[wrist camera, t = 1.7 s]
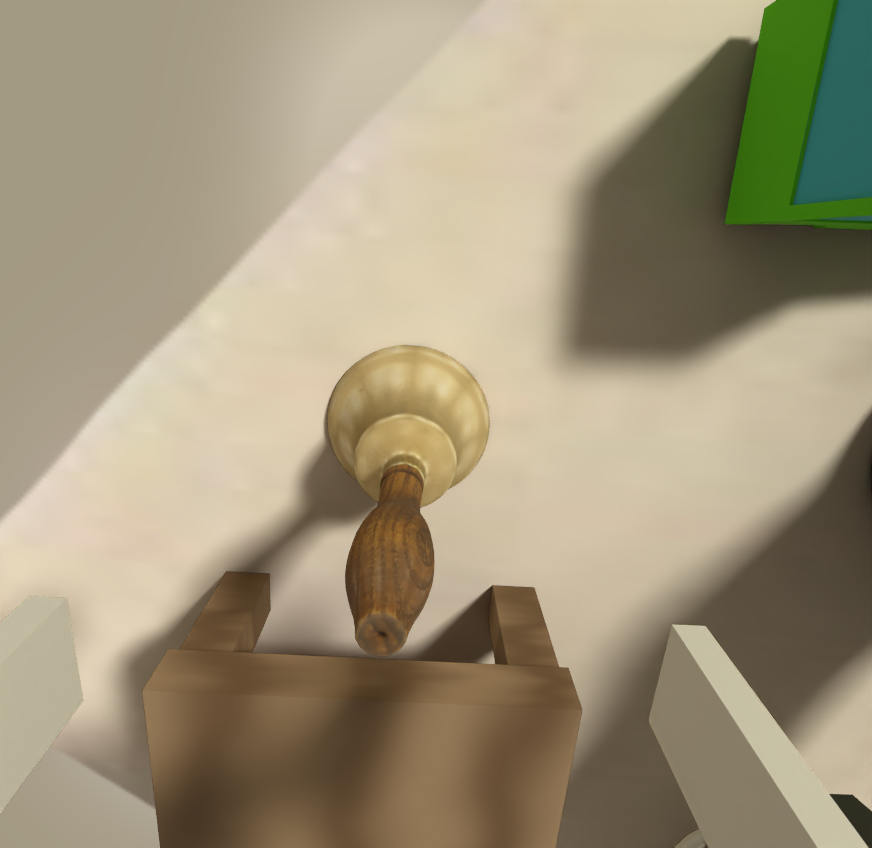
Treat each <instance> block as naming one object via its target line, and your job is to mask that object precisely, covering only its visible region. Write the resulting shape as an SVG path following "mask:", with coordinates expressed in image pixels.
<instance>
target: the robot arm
mask: <svg viewBox="0 0 872 848" xmlns="http://www.w3.org/2000/svg"><path fill="white" fill-rule="evenodd" d="M871 492H872V465H871ZM82 702H83V695H82V689H81V683H80V677H79V671H78V664H77V658H76V652H75V646H74V640H73V633H72V627H71V621H70V615H69V609H68V603H67V598H62V597H39V596H29V597H28V598H27V599H26V600H25V601H23V602H22V603H21V604H20V605H19V606H18V607H17V608H16V609H15V610H14V611H13V612H11V613H10V614H9V615H8V616H7V617H6V618H5V619H4V620H3V621H2V622H0V814H1V812H2V811H3V809H4V808H5V807H6V805H7V804H8V803H9V801H10V800H11V798H12V797H13V796H14V795H15V793H16V792H17V790H18V789H19V788H20V786H21V785H22V784H23V782H24V781H25V779H26V778H27V777H28V775H29V774H30V773H31V771H32V770H33V769H34V767H35V766H36V764H37V763H38V762H39V760H40V759H41V758H42V756H43V755H44V754H45V752H46V751H47V749H48V748H49V747H50V745H51V744H52V743H53V741H54V740H55V739H56V737H57V736H58V734H59V733H60V732H61V730H62V729H63V728H64V726H65V725H66V724H67V722H68V721H69V719H70V718H71V717H72V715H73V714H74V713H75V711H76V710H77V709H78V707H79V706H80V704H81V703H82ZM648 721H649V723H650V725H651V728H652V730H653V732H654V734H655V736H656V738H657V740H658V742H659V745H660V747H661V749H662V751H663V753H664V755H665V757H666V759H667V761H668V764H669V766H670V768H671V770H672V772H673V774H674V776H675V778H676V781H677V783H678V785H679V787H680V789H681V791H682V793H683V795H684V798H685V800H686V802H687V804H688V806H689V808H690V810H691V812H692V814H693V817H694V819H695V821H696V823H697V825H698V827H699V829H700V831H701V834H702V836H703V838H704V840H705V842H706V844H707V846H708V848H872V811H871V810H869V809H868V808H867V807H866V806H865V805H864V804H862V803H861V802H860V801H859V800H858V799H857V798H855V797H854V796H853V795H843V794H829V793H828V792H827V790H826V789H825V788H824V786H823V785H822V784H821V782H820V781H819V780H818V778H817V777H816V776H815V774H814V773H813V771H812V770H811V769H810V767H809V766H808V765H807V763H806V762H805V761H804V759H803V758H802V756H801V755H800V754H799V752H798V751H797V750H796V748H795V747H794V746H793V744H792V743H791V742H790V740H789V739H788V737H787V736H786V735H785V733H784V732H783V731H782V729H781V728H780V727H779V725H778V724H777V722H776V721H775V720H774V718H773V717H772V716H771V714H770V713H769V712H768V710H767V709H766V708H765V706H764V705H763V703H762V702H761V701H760V699H759V698H758V697H757V695H756V694H755V693H754V691H753V690H752V689H751V687H750V686H749V684H748V683H747V682H746V680H745V679H744V678H743V676H742V675H741V674H740V672H739V671H738V669H737V668H736V667H735V665H734V664H733V663H732V661H731V660H730V659H729V657H728V656H727V655H726V653H725V652H724V650H723V649H722V648H721V646H720V645H719V644H718V642H717V641H716V640H715V638H714V637H713V635H712V634H711V633H710V631H709V630H708V629H707V627H706V626H696V625H674V624H672V626H671V630H670V635H669V639H668V643H667V647H666V651H665V655H664V659H663V663H662V667H661V671H660V675H659V679H658V683H657V687H656V691H655V695H654V700H653V704H652V708H651V712H650V716H649V720H648Z"/></svg>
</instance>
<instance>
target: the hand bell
mask: <svg viewBox="0 0 872 848" xmlns="http://www.w3.org/2000/svg"><path fill="white" fill-rule="evenodd" d="M489 424H490V420H489V411H488V406H487V402H486V399H485V396H484V393H483V391H482V389H481V387H480V386H479V384H478V383H477V381H476V380H475V378H474V377H473V376H472V375H471V374H470V372H469V371H468V370H467V369H466V368H465V367H464V366H463V365H461V364H460V363H459V362H458V361H456V360H455V359H453V358H452V357H450V356H448V355H446V354H444V353H442V352H440V351H437V350H435V349H431V348H427V347H421V346H411V345H400V346H393V347H388V348H385V349H381V350H379V351H376V352H374V353H372V354H370V355H368V356H366V357H364V358H362V359H361V360H360V361H358V362H357V363H356V364H354V365H353V366H352V367H351V368H350V369H349V370H348V371H347V372H346V373H345V374H344V376H343V377H342V378H341V380H340V381H339V382H338V384H337V386H336V388H335V390H334V392H333V395H332V398H331V400H330V404H329V409H328V419H327V426H328V433H329V439H330V442H331V446H332V448H333V451H334V453H335V455H336V457H337V458H338V460H339V462H340V463H341V465H342V466H343V467H344V469H345V470H346V471H347V472H348V473H349V474H350V475H351V476H352V477H353V478H354V479H355V480H357V481H358V482H359V483H360V485H361V487H362V488H363V489H364V490H365V492H366V493H367V494H368V495H369V496H370V497H371V498H373V499H374V500H376V501H377V502H378V506H377V508H375V509H374V510H373V511H372V512H371V513H370V514H369V515H368V516H367V517H366V519H365V520H364V521H363V522H362V524H361V526H360V528H359V529H358V531H357V533H356V535H355V538H354V540H353V543H352V546H351V549H350V552H349V555H348V559H347V565H346V572H345V583H346V592H347V597H348V602H349V605H350V609H351V612H352V615H353V618H354V625H355V639H356V641H357V642H358V644H359V646H360V648H362V649H363V650H364V651H365V652H367V653H369V654H372V655H376V656H380V657H382V656H388V655H391V654H393V653H396V652H398V651H399V650H400V649H401V648H402V646H403V645H404V643H405V642H406V639H407V636H408V633H409V631H410V629H411V627H412V625H413V624H414V622H415V620H416V619H417V617H418V616H419V614H420V613H421V611H422V609H423V607H424V605H425V603H426V600H427V598H428V596H429V592H430V589H431V586H432V582H433V575H434V550H433V543H432V539H431V534H430V531H429V528H428V525H427V523H426V521H425V519H424V518H423V516H422V515H421V514H420V508H421V507H424V506H427V505H429V504H431V503H433V502H434V501H436V500H437V499H438V498H440V497H441V496H442V495H443V494H444V493H445V492H446V491H447V490H448V489H450V488H452V487H453V486H455V485H456V484H458V483H459V482H460V481H462V480H463V479H464V478H465V477H466V476H467V475H468V474H469V473H470V472H471V471H472V470H473V469H474V467H475V466H476V465H477V463H478V461H479V460H480V458H481V456H482V455H483V452H484V450H485V447H486V444H487V440H488V435H489Z"/></svg>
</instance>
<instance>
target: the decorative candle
mask: <svg viewBox="0 0 872 848" xmlns="http://www.w3.org/2000/svg"><path fill="white" fill-rule="evenodd" d="M674 848H708V846H707V844H706V842H705V840H704V838H703V836H702V834H701V831H700V829H698V830H696V831H694V832H691V833H689V834H688V835H687V836H686V837H684V838H683V839H682V840H681V841H680V842H679V843H678V844H677V845H676V846H675V847H674Z"/></svg>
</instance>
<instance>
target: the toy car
mask: <svg viewBox="0 0 872 848" xmlns="http://www.w3.org/2000/svg"><path fill="white" fill-rule="evenodd" d="M724 224H733V225H754V224H773V225H814V226H813V228H833V229H858V230H872V0H776V1H775V2H773V3H772V4H770V5H769V6H767V7H766V8H765V9H764V14H763V19H762V25H761V30H760V35H759V41H758V46H757V52H756V57H755V62H754V68H753V73H752V78H751V84H750V89H749V95H748V100H747V105H746V111H745V116H744V121H743V127H742V132H741V137H740V143H739V148H738V154H737V159H736V164H735V170H734V175H733V180H732V186H731V191H730V197H729V202H728V207H727V213H726V218H725V223H724Z"/></svg>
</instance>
